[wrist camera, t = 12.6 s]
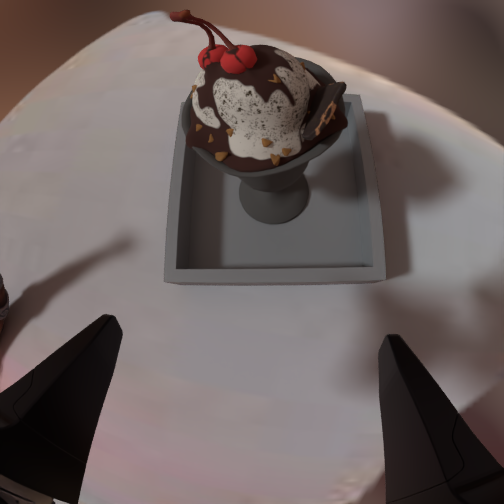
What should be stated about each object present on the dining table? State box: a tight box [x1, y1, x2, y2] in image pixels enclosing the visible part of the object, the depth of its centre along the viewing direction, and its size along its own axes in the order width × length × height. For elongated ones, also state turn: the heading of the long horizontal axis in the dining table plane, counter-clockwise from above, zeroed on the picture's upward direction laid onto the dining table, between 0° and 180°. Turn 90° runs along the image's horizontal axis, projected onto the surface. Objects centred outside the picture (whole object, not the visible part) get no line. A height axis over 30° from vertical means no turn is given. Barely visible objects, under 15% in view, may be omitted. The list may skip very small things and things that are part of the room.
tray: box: [164, 94, 386, 286], centre depth 20 cm, size 14×14×3 cm
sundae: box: [170, 10, 348, 224], centre depth 13 cm, size 7×7×15 cm
